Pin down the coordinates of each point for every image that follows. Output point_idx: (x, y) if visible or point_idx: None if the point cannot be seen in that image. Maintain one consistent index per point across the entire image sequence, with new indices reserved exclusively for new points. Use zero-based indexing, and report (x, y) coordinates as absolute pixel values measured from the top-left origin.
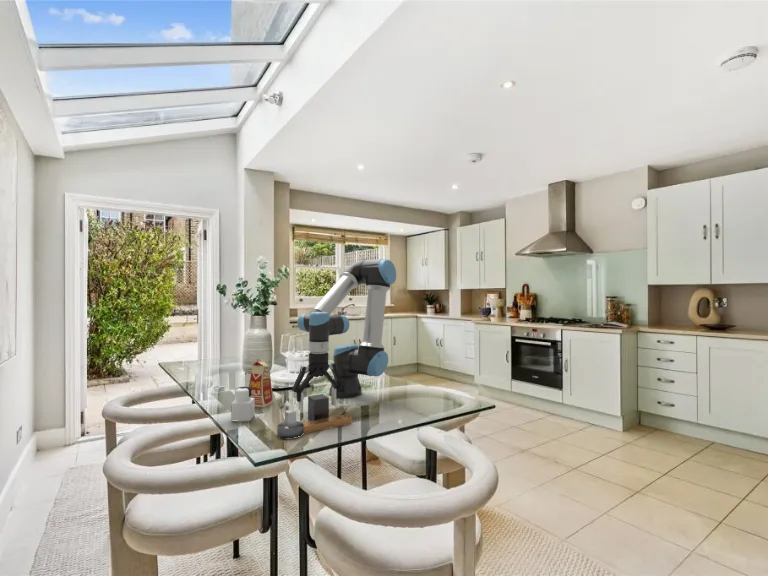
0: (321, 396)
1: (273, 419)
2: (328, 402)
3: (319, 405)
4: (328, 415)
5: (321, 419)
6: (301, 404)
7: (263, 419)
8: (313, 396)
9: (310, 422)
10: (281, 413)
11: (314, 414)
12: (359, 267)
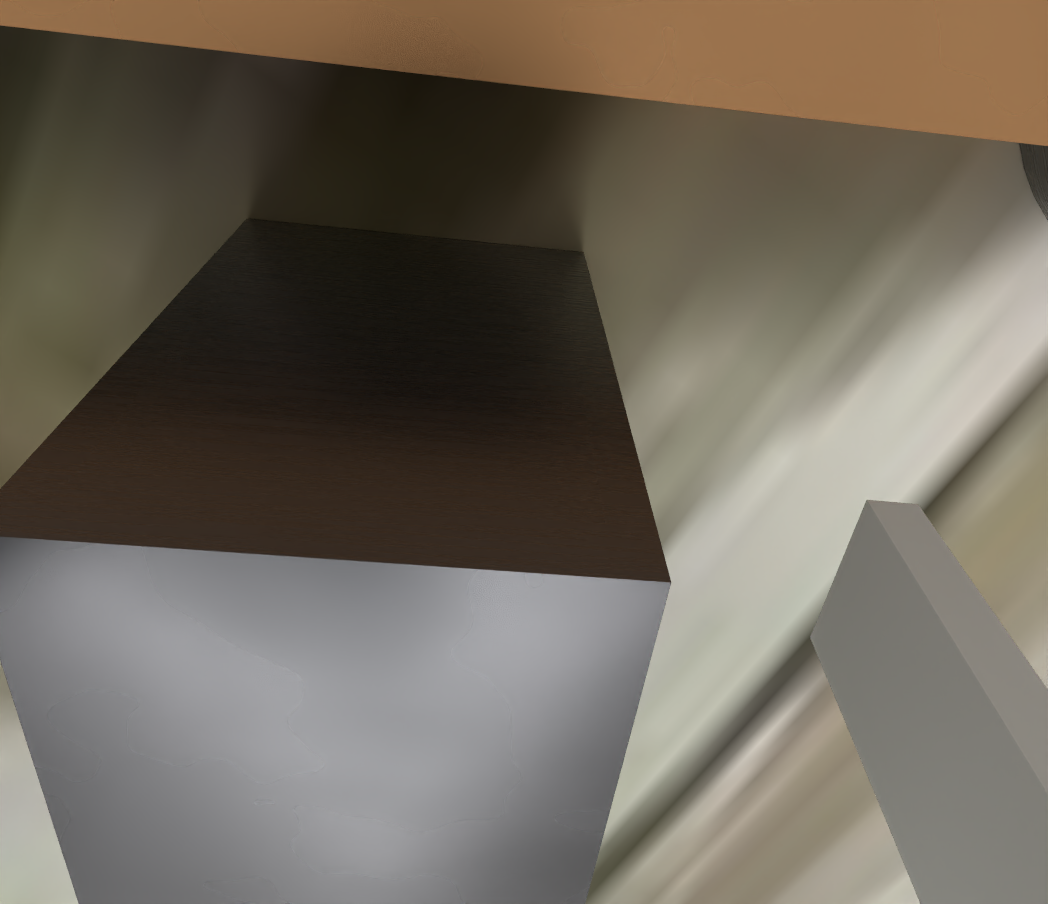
0: (208, 773)
1: None
2: (75, 425)
3: (445, 428)
4: (217, 260)
5: (538, 36)
6: (1002, 628)
7: None
8: (453, 871)
9: (906, 4)
10: (702, 850)
11: (598, 329)
12: None
